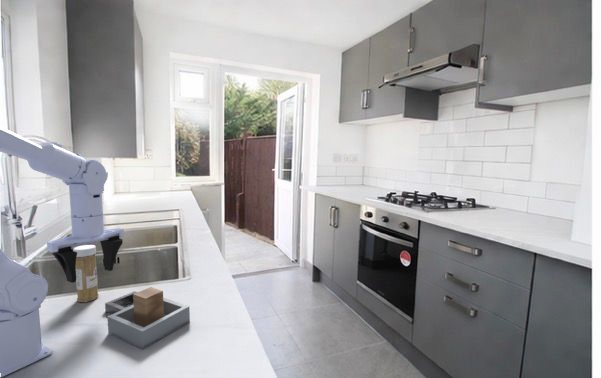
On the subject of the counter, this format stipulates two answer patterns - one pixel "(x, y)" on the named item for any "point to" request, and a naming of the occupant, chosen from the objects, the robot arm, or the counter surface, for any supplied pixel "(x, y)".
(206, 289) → the counter surface
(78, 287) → the sprinkles bottle
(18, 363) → the robot arm
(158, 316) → the brown wooden block
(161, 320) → the tray
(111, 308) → the socket collar
